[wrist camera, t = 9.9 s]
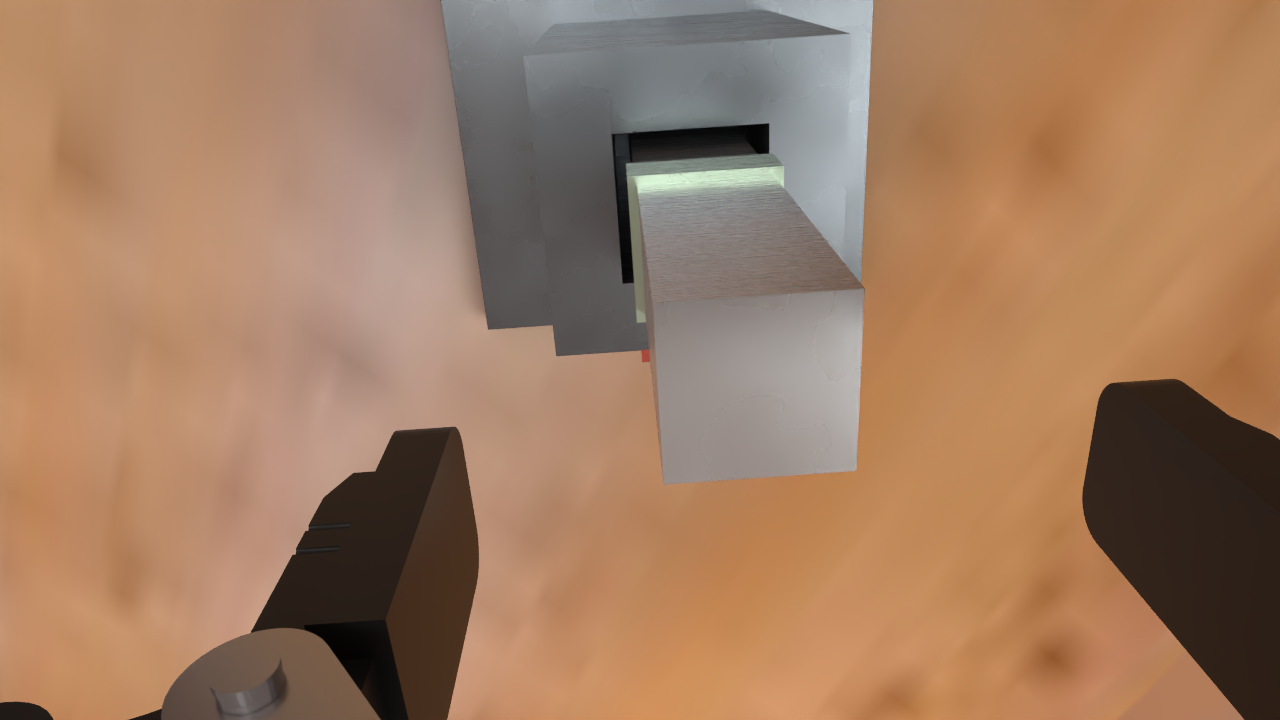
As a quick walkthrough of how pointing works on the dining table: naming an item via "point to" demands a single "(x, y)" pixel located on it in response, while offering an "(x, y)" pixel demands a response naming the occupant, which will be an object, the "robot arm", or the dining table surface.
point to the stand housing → (640, 102)
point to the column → (740, 313)
